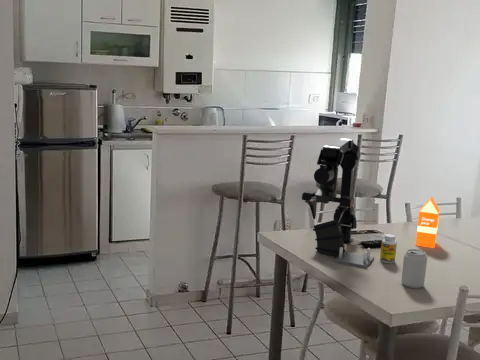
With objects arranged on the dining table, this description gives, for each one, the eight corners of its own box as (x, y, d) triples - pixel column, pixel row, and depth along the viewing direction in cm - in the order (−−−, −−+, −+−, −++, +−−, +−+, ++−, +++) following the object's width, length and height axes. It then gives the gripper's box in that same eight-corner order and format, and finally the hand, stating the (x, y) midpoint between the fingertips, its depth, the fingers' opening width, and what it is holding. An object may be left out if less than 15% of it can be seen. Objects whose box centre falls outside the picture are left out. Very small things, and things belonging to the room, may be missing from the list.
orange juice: (415, 245, 248) (420, 198, 245) (417, 240, 256) (422, 195, 253) (434, 248, 246) (440, 201, 242) (436, 242, 254) (441, 197, 250)
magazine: (345, 258, 221) (334, 219, 223) (319, 264, 231) (308, 227, 232) (351, 256, 224) (340, 218, 226) (324, 262, 233) (314, 225, 235)
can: (397, 281, 204) (401, 247, 202) (418, 281, 204) (422, 248, 202) (405, 289, 196) (409, 254, 194) (427, 289, 197) (431, 255, 195)
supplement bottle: (379, 262, 223) (381, 236, 221) (380, 258, 228) (382, 232, 226) (394, 264, 221) (397, 238, 219) (395, 260, 226) (398, 234, 224)
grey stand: (343, 253, 231) (344, 241, 230) (373, 259, 226) (374, 247, 225) (333, 262, 220) (335, 249, 219) (365, 268, 215) (367, 255, 214)
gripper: (297, 179, 215) (294, 221, 218) (347, 186, 207) (344, 229, 210) (308, 175, 225) (305, 215, 228) (356, 182, 217) (352, 223, 220)
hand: (326, 221), depth 221 cm, fingers open, 9 cm apart
